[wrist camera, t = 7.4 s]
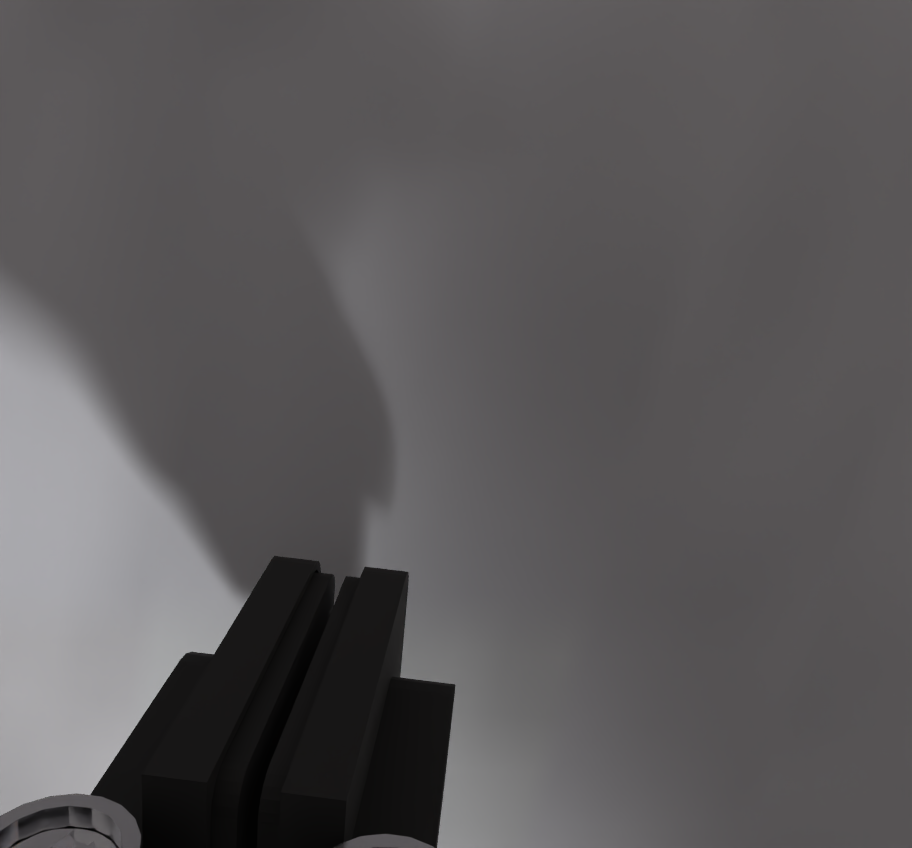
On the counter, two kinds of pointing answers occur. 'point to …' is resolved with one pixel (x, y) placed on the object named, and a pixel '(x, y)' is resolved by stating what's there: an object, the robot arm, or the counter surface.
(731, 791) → the counter surface
